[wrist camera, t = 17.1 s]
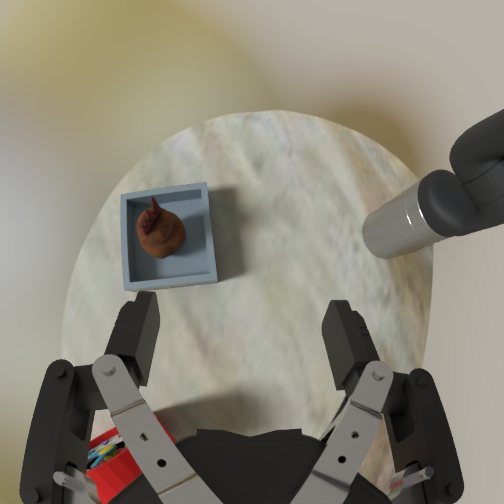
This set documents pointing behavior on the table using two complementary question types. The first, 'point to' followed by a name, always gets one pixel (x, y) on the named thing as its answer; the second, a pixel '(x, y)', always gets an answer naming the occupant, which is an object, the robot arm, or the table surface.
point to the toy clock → (112, 463)
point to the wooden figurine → (160, 231)
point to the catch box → (186, 257)
